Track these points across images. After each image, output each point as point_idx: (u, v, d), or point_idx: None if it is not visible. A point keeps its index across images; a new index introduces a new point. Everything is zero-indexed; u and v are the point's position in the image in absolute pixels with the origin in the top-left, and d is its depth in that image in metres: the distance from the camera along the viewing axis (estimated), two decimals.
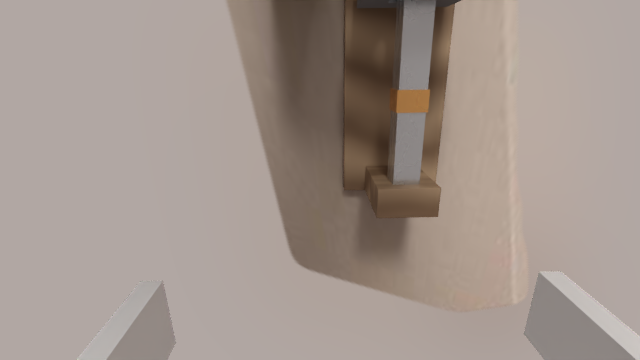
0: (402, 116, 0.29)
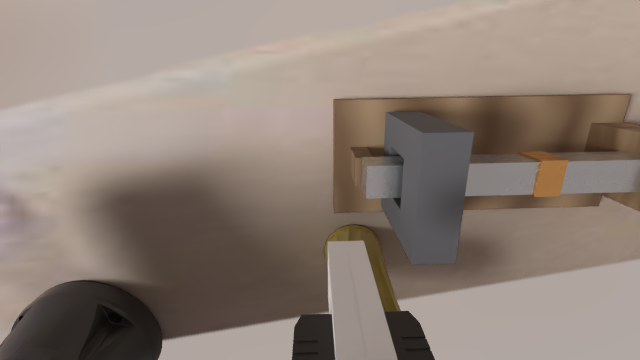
0: (564, 188, 0.25)
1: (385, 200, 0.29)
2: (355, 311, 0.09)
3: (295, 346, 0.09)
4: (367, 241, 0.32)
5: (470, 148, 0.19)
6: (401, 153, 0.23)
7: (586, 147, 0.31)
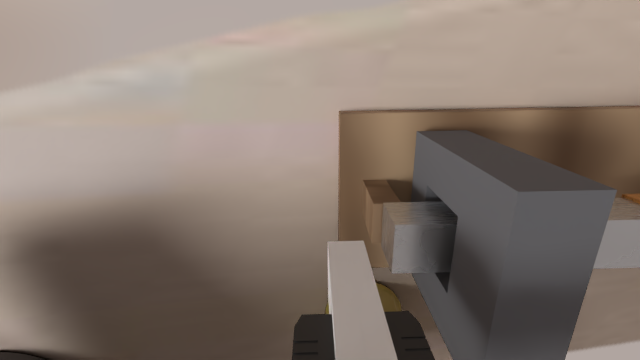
0: None
1: None
2: (355, 311, 0.09)
3: (295, 346, 0.09)
4: (385, 310, 0.22)
5: (605, 219, 0.10)
6: (451, 205, 0.14)
7: None
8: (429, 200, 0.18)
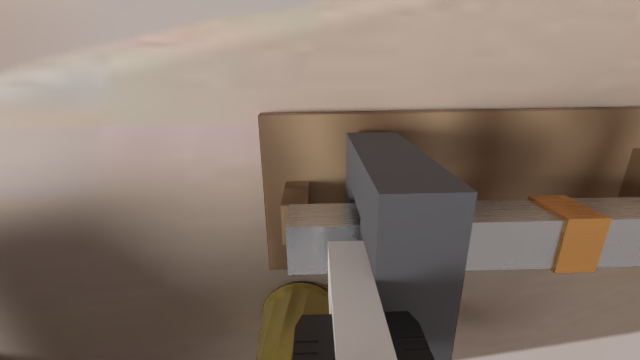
0: (602, 259, 0.16)
1: None
2: (355, 311, 0.09)
3: (295, 346, 0.09)
4: (314, 311, 0.23)
5: (470, 221, 0.10)
6: (358, 207, 0.14)
7: (624, 181, 0.21)
8: (354, 201, 0.18)
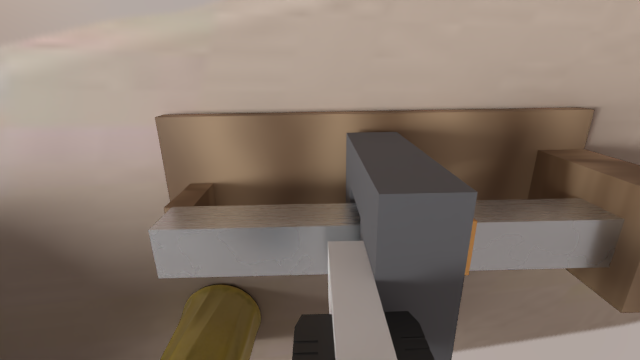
0: (475, 263, 0.15)
1: None
2: (355, 311, 0.09)
3: (295, 346, 0.09)
4: (226, 313, 0.22)
5: (469, 221, 0.10)
6: (358, 207, 0.14)
7: (532, 183, 0.21)
8: (354, 201, 0.18)
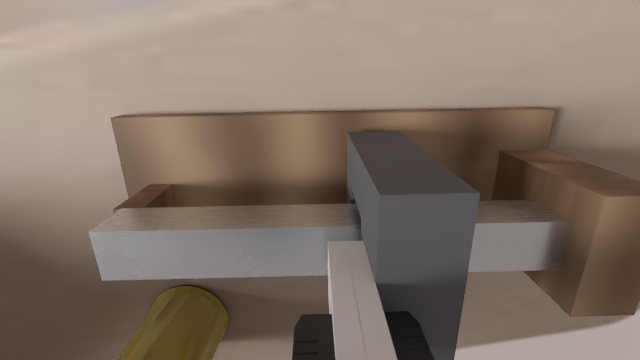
0: None
1: None
2: (355, 311, 0.09)
3: (295, 346, 0.09)
4: (188, 315, 0.22)
5: (472, 222, 0.10)
6: (359, 207, 0.14)
7: (496, 184, 0.21)
8: (355, 202, 0.18)
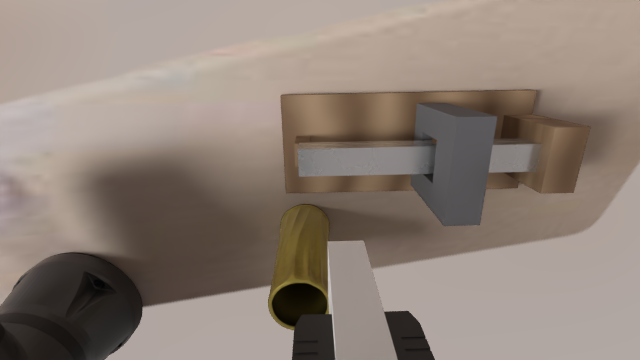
0: None
1: (415, 179, 0.34)
2: (355, 311, 0.09)
3: (295, 346, 0.09)
4: (313, 217, 0.37)
5: (494, 129, 0.24)
6: (434, 136, 0.28)
7: (501, 136, 0.35)
8: None
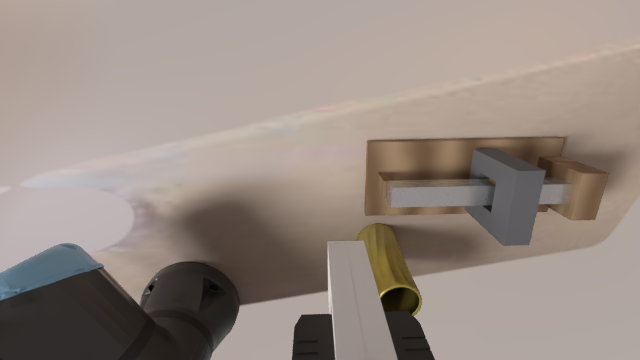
0: None
1: (471, 206, 0.44)
2: (355, 311, 0.09)
3: (295, 346, 0.09)
4: (388, 235, 0.47)
5: (543, 179, 0.34)
6: (493, 178, 0.39)
7: None
8: (480, 178, 0.42)
